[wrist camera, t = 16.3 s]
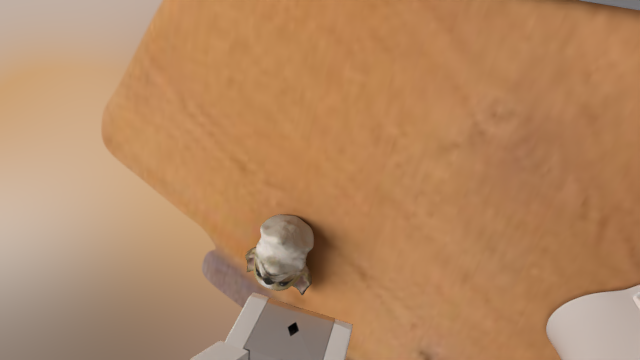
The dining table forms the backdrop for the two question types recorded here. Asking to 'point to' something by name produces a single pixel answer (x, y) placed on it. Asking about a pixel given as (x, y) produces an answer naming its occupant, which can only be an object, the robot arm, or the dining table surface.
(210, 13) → the dining table surface
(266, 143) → the dining table surface
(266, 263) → the ceramic sculpture
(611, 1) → the grey slider track base
